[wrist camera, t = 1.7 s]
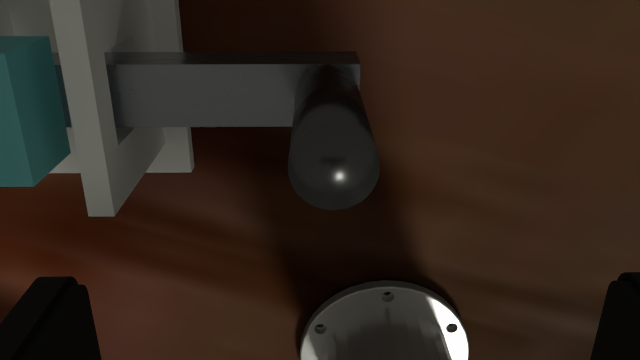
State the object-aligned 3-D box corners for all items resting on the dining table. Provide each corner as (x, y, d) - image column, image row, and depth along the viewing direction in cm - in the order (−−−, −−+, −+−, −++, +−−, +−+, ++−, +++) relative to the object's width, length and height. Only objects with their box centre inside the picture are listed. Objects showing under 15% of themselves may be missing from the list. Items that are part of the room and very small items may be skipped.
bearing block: (194, 166, 37) (150, 253, 27) (10, 167, 37) (-103, 255, 27) (171, -67, 32) (105, -67, 22) (-45, -67, 31) (-214, -66, 21)
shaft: (354, 108, 30) (378, 210, 19) (-55, 110, 30) (-270, 213, 19) (355, 51, 29) (382, 124, 18) (-71, 52, 29) (-310, 127, 18)
